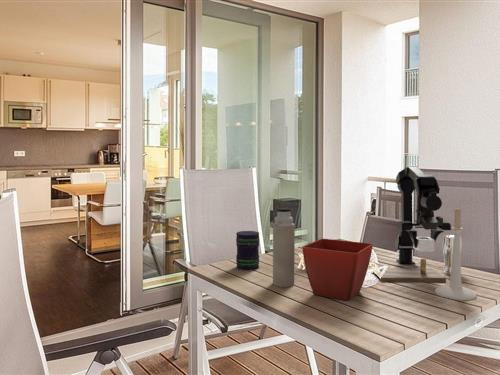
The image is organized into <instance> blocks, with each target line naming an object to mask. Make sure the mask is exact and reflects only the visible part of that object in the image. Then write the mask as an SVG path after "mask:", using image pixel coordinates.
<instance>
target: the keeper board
mask: <svg viewBox="0 0 500 375" xmlns="http://www.w3.org/2000/svg"><path fill="white" fill-rule="evenodd" d="M419 264H420V268H396V267H395V268H391V267H390V268H387V270H386V272H385V273H384V274H383V276H382V277H381V279H380V282H393V283H394V282H399V283H400V282H405V283H406V282H407V283H410V282H411V283H412V282H413V283H419V282H420V283H423V282H424V283H425V282H426V283H429V282H430V283H446V282H447V278H446V277H445V276H444V275H442V274H441V273H439V272H438V271H436V270H434V269H433V268H427V259H426V258H420V263H419Z"/></svg>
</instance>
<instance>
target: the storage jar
mask: <svg viewBox="0 0 500 375" xmlns="http://www.w3.org/2000/svg"><path fill="white" fill-rule="evenodd" d="M235 239H236V240H235V243H236V255H235V257H236V259H235V261H236V269H237V270H240V271H246V272H247V271H257V270H258V269H260V254H259V247H260V232H259V231H256V230H242V231H237V232H236V238H235Z"/></svg>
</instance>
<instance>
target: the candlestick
mask: <svg viewBox="0 0 500 375" xmlns="http://www.w3.org/2000/svg"><path fill="white" fill-rule="evenodd" d="M453 222H454V224H453V226H451V230H452V233H453V235H454V236H455V237H454V242H453V254H452V266H451V274H450V277H449V278H450V279H449V284H446V285H445V284H444V285H441V286H438V287H436V288H435V290H434V294H435V295H437V296H439V297H441V298H444V297H445V299H448V298H449V300H455V301H472V300H475V299H477V293H475V291H473V290H472V289H470V288H468V287H466V286H463V285H462V264H461V263H462V262H461V261H462V259H461V258H462V256H461V254H462V250H461V251H460V236H461V234H462V230H463V229H464V228H463V227H461V225H462V208H461V207H455V208H454V219H453Z"/></svg>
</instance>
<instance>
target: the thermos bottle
mask: <svg viewBox="0 0 500 375" xmlns="http://www.w3.org/2000/svg"><path fill="white" fill-rule="evenodd" d="M276 210H277V212H276V216H275V217H274V223H272V285H273V286H275V287H281V288H288V287H294V285H295V261H296V260H295V251H296V250H295V246H296V245H295V244H296V242H295V241H296V240H295V237H296V236H295V235H296V233H295V232H296V231H295V230H296V229H295V228H296V227H295V223H294V218H293V216H291V210H292V209H290V208H285V207H284V208H282V207H281V208H277V209H276Z"/></svg>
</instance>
